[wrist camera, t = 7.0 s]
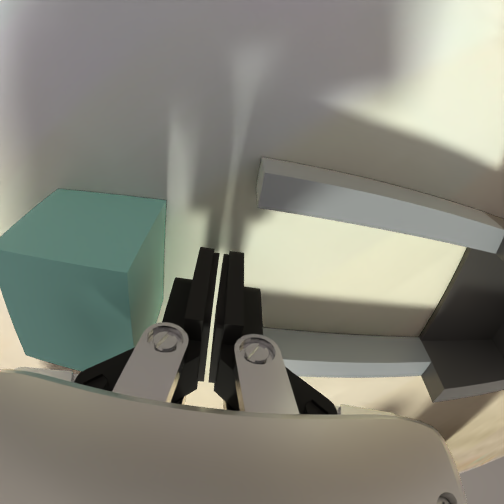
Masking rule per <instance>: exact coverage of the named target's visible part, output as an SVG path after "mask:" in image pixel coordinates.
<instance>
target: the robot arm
mask: <svg viewBox="0 0 504 504" xmlns="http://www.w3.org/2000/svg"><path fill="white" fill-rule="evenodd" d="M218 260H219V253H214V249H212V248H205V247H200V250H199V254H198V259H197V263H196V267H195V272H194V276H193V280H191V279H184V278H177V277H176V278H175V280H174V283H173V287H172V290H171V293H170V297H169V300H168V304H167V307H166V311H165V314H164V318H163V321H162V323H156V324H153V325H151V326H149V327H148V328H147V329H146V330H145V331H144V332H143V334H142V336H141V338H140V340H139V341H138V343H137V345H136V347H134V348H132V349H130V350H128V351H125V352H123V353H121V354H119V355H117V356H114V357H112V358H110V359H108V360H105V361H103V362H101V363H99V364H96V365H94V366H92V367H90V368H87V369H85V370H84V371H82V372H81V373H80V374H73V372H72V371H67V370H52V369H39V368H29V367H20V368H16V369H0V504H468V503H467V500H466V495H465V492H464V488H463V485H462V482H461V478H460V476H459V472H458V470H457V467H456V464H455V461H454V459H453V456H452V454H451V452H450V450H449V448H448V446H447V444H446V442H445V440H444V439H443V437H442V436H441V434H440V433H439V432H438V431H437V430H436V429H435V428H433V427H432V426H430V425H428V424H426V423H424V422H421V421H418V420H415V419H411V418H408V417H401V416H397V415H396V414H394V413H391V412H386V411H379V410H373V409H367V408H361V407H355V406H349V405H344V404H341V405H340V407H338V406H334V404H333V403H332V402H331V401H330V400H329V399H328V398H326V397H325V396H323V395H322V394H321V393H319V392H318V391H317V390H315V389H314V388H313V387H311V386H310V385H309V384H307V383H306V382H305V381H303V380H302V379H301V378H299V377H298V376H297V375H296V374H294V373H293V372H292V371H290V370H289V369H288V368H286V367H285V365H284V361H283V358H282V355H281V351H280V349H279V347H278V345H277V344H276V343H275V342H274V341H273V340H272V339H270V338H268V337H266V336H263V324H262V307H261V292H260V289H258V288H250V287H244V253H241V252H234V251H230V253H229V255H228V254H224V256H223V263H222V270H221V277H220V284H219V291H218V298H217V305H216V313H215V322H214V332H213V342H212V352H211V362H210V373H209V382H211V383H214V391H215V392H216V393H217V394H218V395H219V396H220V397H221V398H222V399H223V409H224V410H222V409H213V408H205V407H197V406H189V405H184V404H185V400H186V395H188V394H189V393H191V392H193V391H194V390H196V389H197V384H198V381H203V382H204V375H205V366H206V358H207V349H208V341H209V332H210V324H211V316H212V307H213V299H214V291H215V283H216V275H217V268H218Z"/></svg>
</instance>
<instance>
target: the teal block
mask: <svg viewBox="0 0 504 504" xmlns="http://www.w3.org/2000/svg"><path fill="white" fill-rule="evenodd" d="M166 203H167V200H160V199H152V198H143V197H135V196H126V195H117V194H107V193H98V192H88V191H77V190H67V189H57V190H56V191H54V192H53V193H52V194H51V195H49V196H48V197H47V198H46V199H44V200H43V201H42V202H41V203H39V204H38V205H37V206H36V207H34V208H33V209H32V210H31V211H30V212H28V213H27V214H26V215H25V216H24V217H22V218H21V219H20V220H19V221H18V222H17V223H15V224H14V225H13V226H12V227H11V228H10V229H9V230H8V231H6V232H5V233H4V234H3V235H2V236H1V237H0V288H1V291H2V295H3V298H4V300H5V303H6V306H7V309H8V312H9V315H10V317H11V320H12V323H13V325H14V328H15V330H16V333H17V335H18V338H19V340H20V343H21V345H22V347H23V350H24V352H25V354H26V355H27V356H30V357H33V358H37V359H40V360H43V361H46V362H50V363H53V364H56V365H60V366H63V367H67V368H70V369H74V370H78V371H84V370H85V369H87V368H90V367H92V366H94V365H96V364H99V363H101V362H103V361H105V360H108V359H110V358H112V357H114V356H117V355H119V354H121V353H123V352H125V351H128V350H130V349H132V348H134V347H136V345H137V343H138V341H139V340H140V338H141V336H142V334H143V332H144V331H145V330H146V329H147V328H148V327H149V326H151V325H153V324H156V322H157V318H158V315H159V312H160V308H161V305H162V302H163V278H164V242H165V220H166Z"/></svg>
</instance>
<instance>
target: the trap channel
mask: <svg viewBox="0 0 504 504" xmlns="http://www.w3.org/2000/svg"><path fill="white" fill-rule="evenodd" d="M256 193H257V204H258V208H262V209H269V210H275V211H281V212H287V213H294V214H300V215H306V216H312V217H318V218H323V219H329V220H335V221H340V222H346V223H351V224H357V225H362V226H368V227H373V228H378V229H383V230H388V231H394V232H399V233H404V234H409V235H413V236H418V237H423V238H428V239H433V240H437V241H442V242H446V243H451V244H456V245H460V246H464V247H467V250H466V252H465V254H464V256H463V258H462V260H461V262H460V264H459V266H458V268H457V270H456V272H455V274H454V276H453V278H452V280H451V282H450V284H449V286H448V288H447V290H446V292H445V293H444V295H443V297H442V299H441V301H440V303H439V304H438V306H437V308H436V310H435V311H434V313H433V315H432V317H431V318H430V320H429V322H428V323H427V325H426V327H425V328H424V330H423V332H422V333H421V335H420V336H419V337H394V336H369V335H350V334H334V333H319V332H306V331H294V330H283V329H273V328H263V336H266V337H268V338H270V339H272V340H273V341H274V342H275V343H276V344H277V345H278V347H279V349H280V351H281V355H282V358H283V361H284V365H285V367H286V368H288V369H289V370H290V371H292V372H293V373H294V374H296V375H297V376H306V377H345V378H365V377H403V376H422V378H423V381H424V383H425V385H426V388H427V390H428V392H429V395H430V397H431V399H432V402H440V401H447V400H454V399H460V398H465V397H471V396H476V395H481V394H486V393H491V392H496V391H500V390H504V219H502V218H500V217H497V216H494V215H491V214H488V213H485V212H483V211H480V210H477V209H474V208H471V207H467V206H464V205H461V204H458V203H455V202H452V201H449V200H445V199H442V198H439V197H435V196H432V195H428V194H425V193H421V192H418V191H414V190H411V189H407V188H403V187H400V186H396V185H392V184H388V183H384V182H380V181H376V180H372V179H368V178H364V177H360V176H355V175H351V174H347V173H342V172H337V171H333V170H328V169H323V168H319V167H314V166H309V165H304V164H298V163H293V162H288V161H282V160H276V159H271V158H265V157H262V158H261V163H260V168H259V174H258V179H257V184H256Z"/></svg>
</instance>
